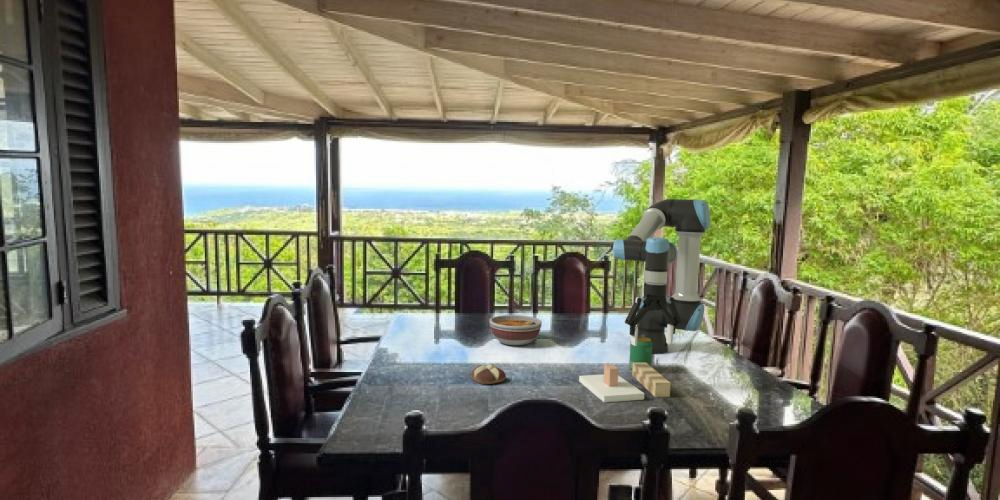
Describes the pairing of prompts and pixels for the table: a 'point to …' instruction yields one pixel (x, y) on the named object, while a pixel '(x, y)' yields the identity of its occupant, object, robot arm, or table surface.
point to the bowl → (515, 329)
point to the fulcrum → (611, 386)
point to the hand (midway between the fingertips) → (651, 344)
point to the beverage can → (641, 352)
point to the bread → (488, 374)
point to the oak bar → (651, 380)
